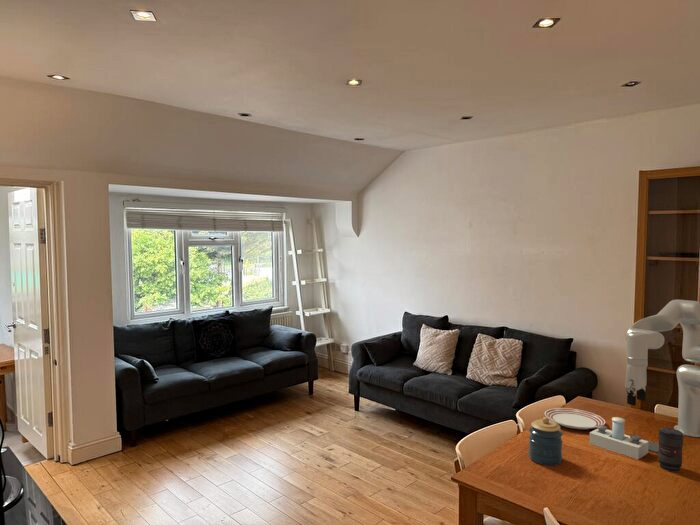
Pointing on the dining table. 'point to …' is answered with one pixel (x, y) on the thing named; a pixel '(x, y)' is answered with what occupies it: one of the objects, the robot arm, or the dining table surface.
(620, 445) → the housing
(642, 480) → the dining table surface
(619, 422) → the cartridge
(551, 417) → the dinner plate
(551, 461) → the canister
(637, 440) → the plunger
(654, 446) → the mat
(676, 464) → the camera lens
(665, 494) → the dining table surface
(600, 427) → the plunger
